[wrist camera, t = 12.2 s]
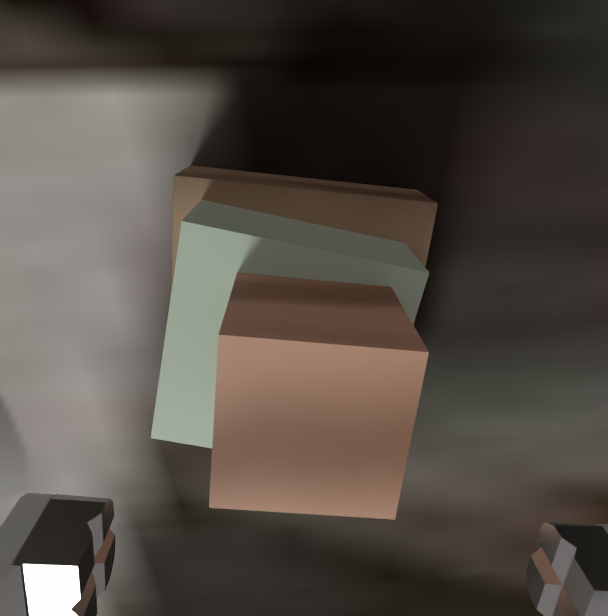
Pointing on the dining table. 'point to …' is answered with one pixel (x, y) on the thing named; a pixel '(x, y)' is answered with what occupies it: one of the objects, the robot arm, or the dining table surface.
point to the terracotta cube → (314, 397)
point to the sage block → (263, 261)
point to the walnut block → (310, 204)
